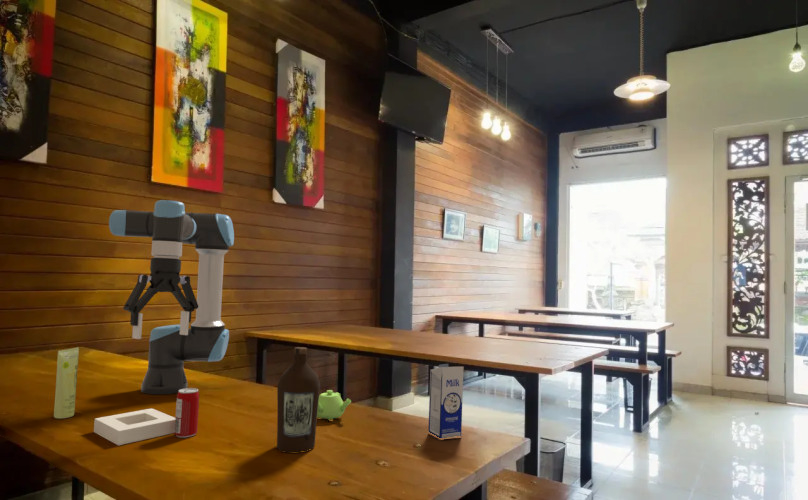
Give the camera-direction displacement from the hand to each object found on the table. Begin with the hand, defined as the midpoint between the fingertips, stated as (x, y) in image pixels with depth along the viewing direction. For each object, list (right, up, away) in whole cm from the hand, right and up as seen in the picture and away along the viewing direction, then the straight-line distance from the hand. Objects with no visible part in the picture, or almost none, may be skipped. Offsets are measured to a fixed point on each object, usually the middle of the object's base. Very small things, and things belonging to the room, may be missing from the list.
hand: (161, 336), depth 135 cm
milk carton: (+77, -29, +6) cm, 82 cm away
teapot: (+42, -29, +19) cm, 54 cm away
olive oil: (+38, -27, -7) cm, 47 cm away
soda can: (+7, -26, -1) cm, 27 cm away
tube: (-33, -25, +11) cm, 43 cm away
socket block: (-6, -25, -1) cm, 26 cm away
